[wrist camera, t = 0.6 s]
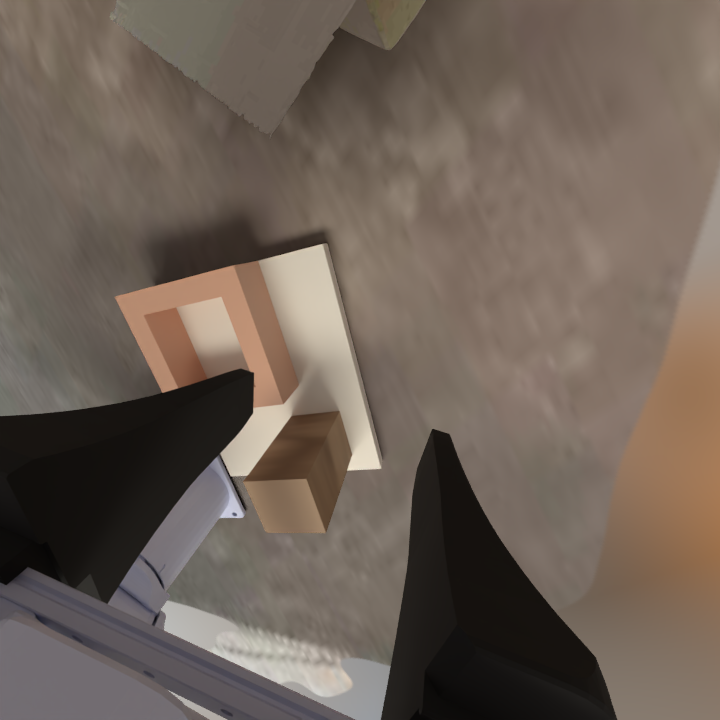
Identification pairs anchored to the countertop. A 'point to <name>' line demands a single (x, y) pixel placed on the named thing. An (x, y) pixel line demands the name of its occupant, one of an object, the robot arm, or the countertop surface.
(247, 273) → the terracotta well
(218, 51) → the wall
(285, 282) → the cream board
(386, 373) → the countertop surface
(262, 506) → the walnut block
